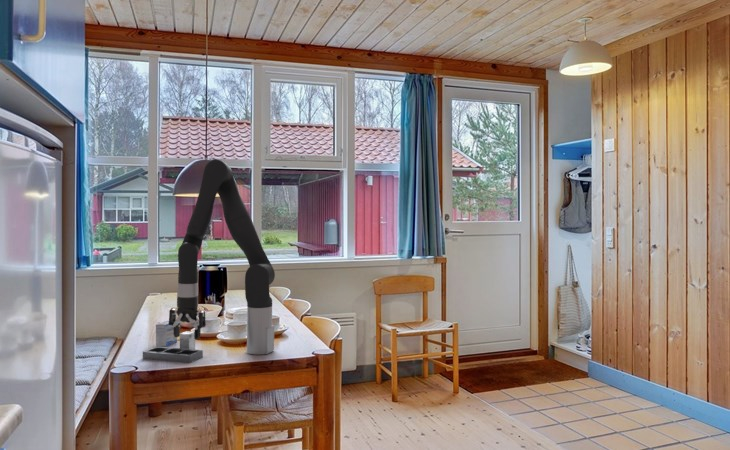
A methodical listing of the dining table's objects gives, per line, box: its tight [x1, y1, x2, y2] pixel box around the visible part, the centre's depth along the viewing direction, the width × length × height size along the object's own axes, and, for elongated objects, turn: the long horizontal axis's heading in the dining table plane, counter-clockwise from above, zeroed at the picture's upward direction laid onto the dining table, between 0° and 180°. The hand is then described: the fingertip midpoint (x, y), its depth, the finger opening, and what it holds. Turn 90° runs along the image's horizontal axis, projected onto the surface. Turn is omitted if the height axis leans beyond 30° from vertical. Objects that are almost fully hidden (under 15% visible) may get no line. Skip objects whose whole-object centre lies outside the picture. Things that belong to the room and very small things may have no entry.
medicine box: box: [155, 320, 178, 347], centre depth 203 cm, size 8×4×9 cm, turn 168°
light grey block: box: [179, 330, 196, 350], centre depth 192 cm, size 4×4×7 cm
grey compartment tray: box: [142, 346, 204, 364], centre depth 184 cm, size 19×8×2 cm, turn 76°
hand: (186, 337), depth 193 cm, fingers open, 8 cm apart
